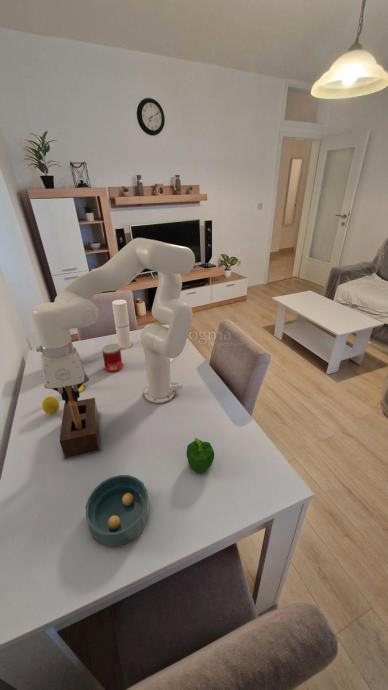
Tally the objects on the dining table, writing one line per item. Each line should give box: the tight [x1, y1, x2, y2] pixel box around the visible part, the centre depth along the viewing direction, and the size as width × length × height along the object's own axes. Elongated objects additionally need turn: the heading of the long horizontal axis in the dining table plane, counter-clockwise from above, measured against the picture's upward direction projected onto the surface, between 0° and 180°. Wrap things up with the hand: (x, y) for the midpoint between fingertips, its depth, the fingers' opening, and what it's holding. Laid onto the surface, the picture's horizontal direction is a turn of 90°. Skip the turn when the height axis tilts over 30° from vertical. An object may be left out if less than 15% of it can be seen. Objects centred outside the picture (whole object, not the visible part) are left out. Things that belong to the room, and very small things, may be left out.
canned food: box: [101, 343, 123, 373], centre depth 129 cm, size 8×8×11 cm
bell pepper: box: [186, 437, 215, 474], centre depth 84 cm, size 8×8×10 cm
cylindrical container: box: [111, 299, 132, 349], centre depth 145 cm, size 7×7×25 cm
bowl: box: [85, 474, 150, 548], centre depth 71 cm, size 15×15×6 cm
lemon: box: [41, 395, 60, 415], centre depth 103 cm, size 6×6×8 cm
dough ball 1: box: [108, 515, 120, 530], centre depth 69 cm, size 3×3×3 cm
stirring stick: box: [65, 385, 83, 430], centre depth 87 cm, size 2×2×24 cm
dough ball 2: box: [122, 493, 134, 506], centre depth 74 cm, size 3×3×3 cm
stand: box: [59, 397, 100, 459], centre depth 94 cm, size 10×18×8 cm, turn 18°
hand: (71, 399), depth 84 cm, fingers closed on stirring stick, 2 cm apart
